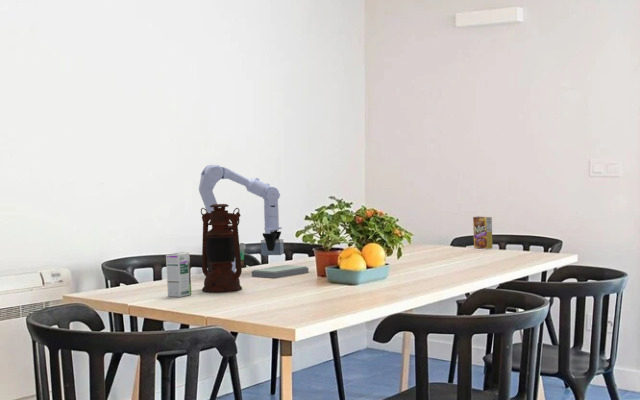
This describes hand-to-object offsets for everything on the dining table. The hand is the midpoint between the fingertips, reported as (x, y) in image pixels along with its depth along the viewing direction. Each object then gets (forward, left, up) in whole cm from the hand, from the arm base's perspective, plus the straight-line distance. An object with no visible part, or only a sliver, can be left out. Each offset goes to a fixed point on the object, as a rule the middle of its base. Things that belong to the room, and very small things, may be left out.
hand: (272, 250), depth 363 cm
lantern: (-48, -20, -9) cm, 52 cm away
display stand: (-6, -9, -9) cm, 14 cm away
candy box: (+117, -29, -9) cm, 121 cm away
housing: (0, 0, -2) cm, 2 cm away
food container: (+3, +24, -9) cm, 26 cm away
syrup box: (-65, -17, -9) cm, 67 cm away
